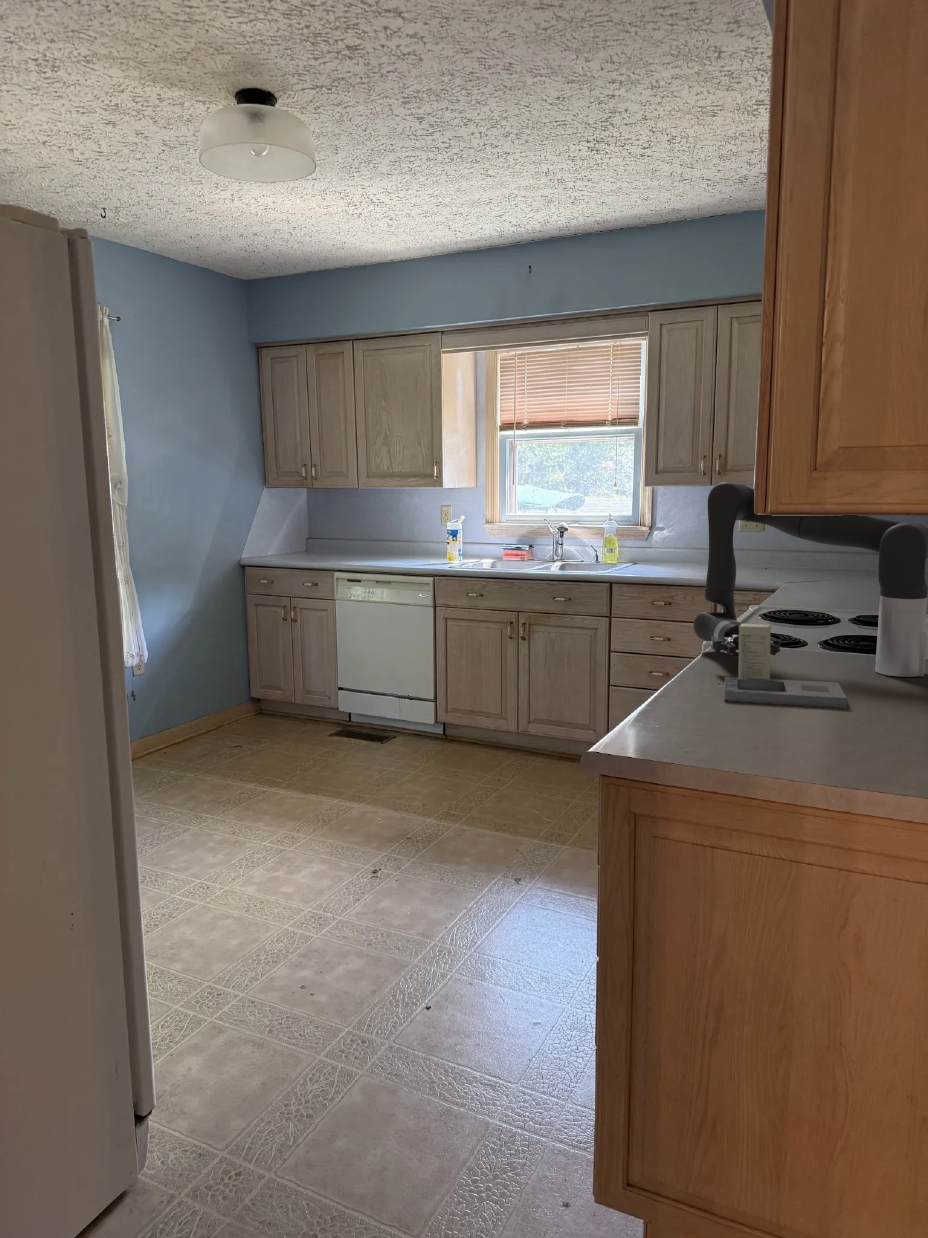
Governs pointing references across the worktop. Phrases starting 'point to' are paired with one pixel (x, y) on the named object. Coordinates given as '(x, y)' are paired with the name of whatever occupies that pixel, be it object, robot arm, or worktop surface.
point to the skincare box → (754, 651)
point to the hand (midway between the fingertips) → (754, 650)
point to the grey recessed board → (785, 692)
